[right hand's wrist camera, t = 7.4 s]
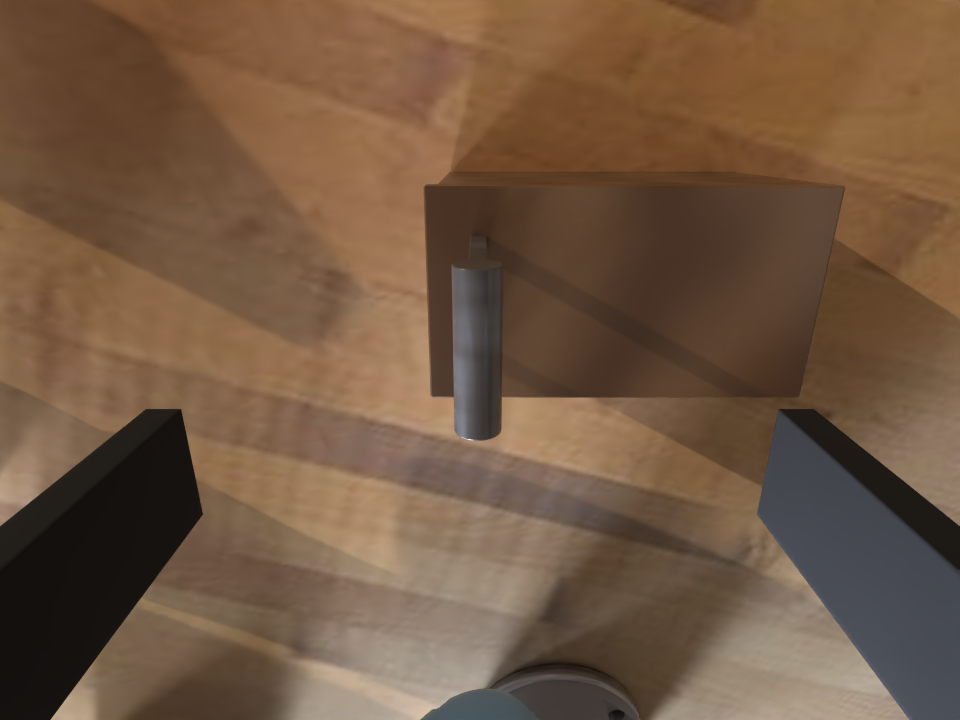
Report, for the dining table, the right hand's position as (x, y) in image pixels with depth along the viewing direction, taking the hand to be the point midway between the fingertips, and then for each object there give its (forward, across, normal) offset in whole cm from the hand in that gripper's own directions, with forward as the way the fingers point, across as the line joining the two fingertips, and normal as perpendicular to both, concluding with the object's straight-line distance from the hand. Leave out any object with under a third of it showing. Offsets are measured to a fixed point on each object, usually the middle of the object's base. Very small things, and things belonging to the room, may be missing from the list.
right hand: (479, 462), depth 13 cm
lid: (+15, -7, 0) cm, 16 cm away
